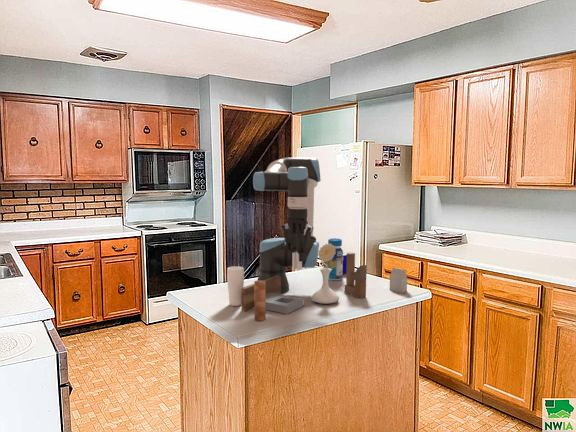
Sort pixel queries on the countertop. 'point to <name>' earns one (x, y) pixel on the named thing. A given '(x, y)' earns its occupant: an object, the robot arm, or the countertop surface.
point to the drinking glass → (235, 284)
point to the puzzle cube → (343, 264)
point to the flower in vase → (326, 276)
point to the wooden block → (355, 278)
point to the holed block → (282, 303)
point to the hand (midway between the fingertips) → (297, 269)
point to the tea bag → (398, 280)
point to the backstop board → (248, 292)
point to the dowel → (259, 300)
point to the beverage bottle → (336, 260)
